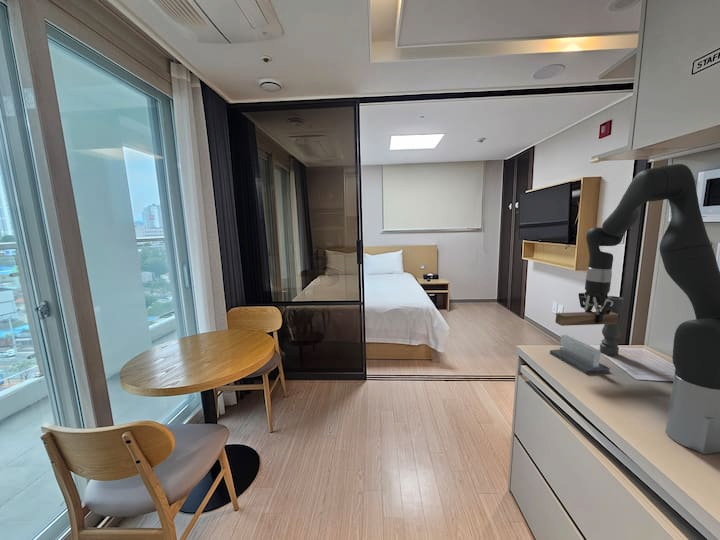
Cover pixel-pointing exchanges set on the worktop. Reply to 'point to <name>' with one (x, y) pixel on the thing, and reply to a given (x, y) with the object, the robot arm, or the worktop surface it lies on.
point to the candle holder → (612, 330)
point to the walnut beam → (584, 318)
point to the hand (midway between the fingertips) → (592, 321)
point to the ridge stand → (579, 355)
